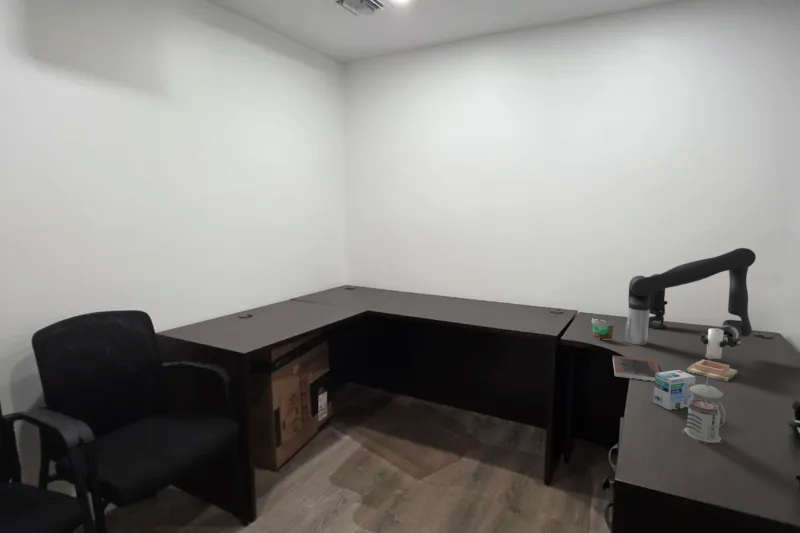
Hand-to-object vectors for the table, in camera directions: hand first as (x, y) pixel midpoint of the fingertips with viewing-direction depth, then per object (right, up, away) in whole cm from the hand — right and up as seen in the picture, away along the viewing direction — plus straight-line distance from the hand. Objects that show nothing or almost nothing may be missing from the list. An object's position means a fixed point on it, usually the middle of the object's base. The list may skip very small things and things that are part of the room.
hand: (713, 343), depth 177 cm
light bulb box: (-32, -17, -26) cm, 45 cm away
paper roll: (+2, -6, +2) cm, 7 cm away
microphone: (+18, -3, +72) cm, 75 cm away
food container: (-23, -6, +50) cm, 55 cm away
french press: (-36, -19, -47) cm, 63 cm away
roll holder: (+2, -12, +3) cm, 13 cm away
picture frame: (-28, -13, +6) cm, 31 cm away
